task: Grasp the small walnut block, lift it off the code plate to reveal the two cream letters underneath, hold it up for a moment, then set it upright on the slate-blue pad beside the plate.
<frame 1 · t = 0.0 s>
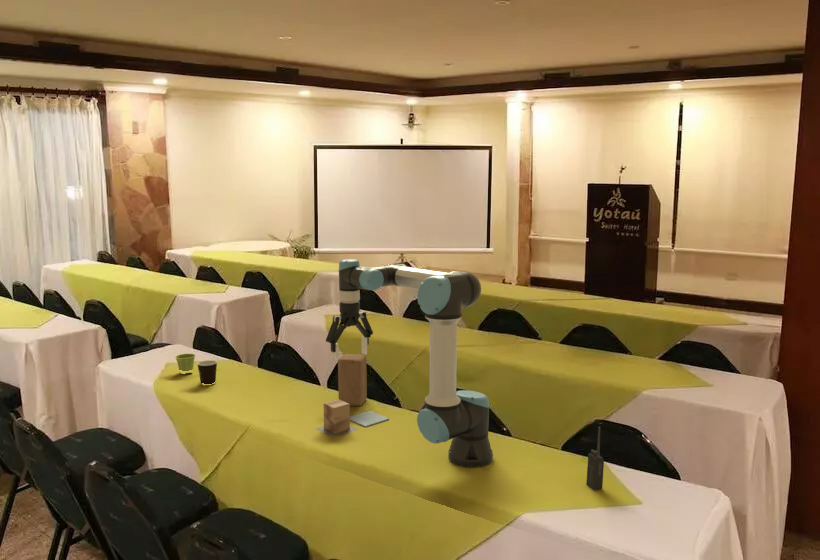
hand: (350, 357, 249), 28 cm above the table, fingers open, 13 cm apart
plant pot: (186, 373, 324), on the table
wooden block: (352, 402, 283), on the table
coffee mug: (209, 383, 309), on the table
walkie-talkie: (594, 487, 206), on the table
code plate: (336, 429, 253), on the table
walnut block: (336, 428, 253), resting on code plate
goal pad: (367, 419, 263), on the table
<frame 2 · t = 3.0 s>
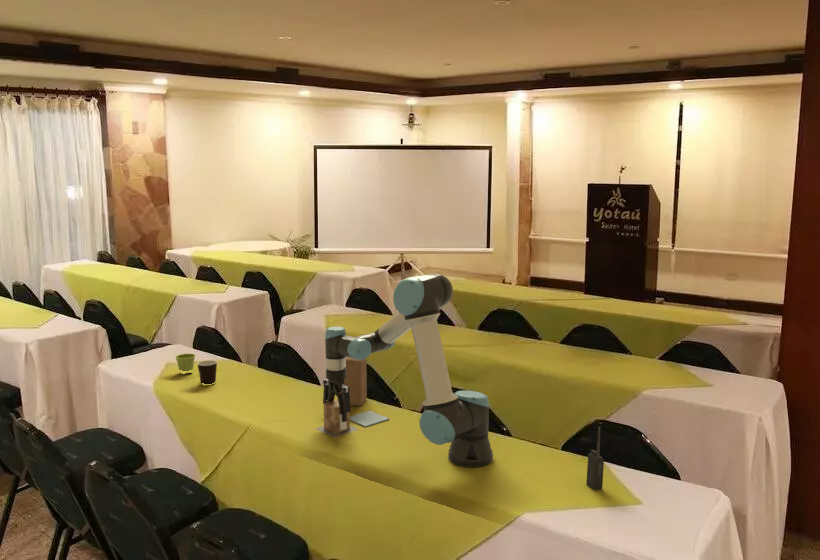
hand: (336, 426, 253), 1 cm above the table, fingers closed on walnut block, 7 cm apart
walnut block: (337, 428, 253), resting on code plate, touching gripper
everything else where it was.
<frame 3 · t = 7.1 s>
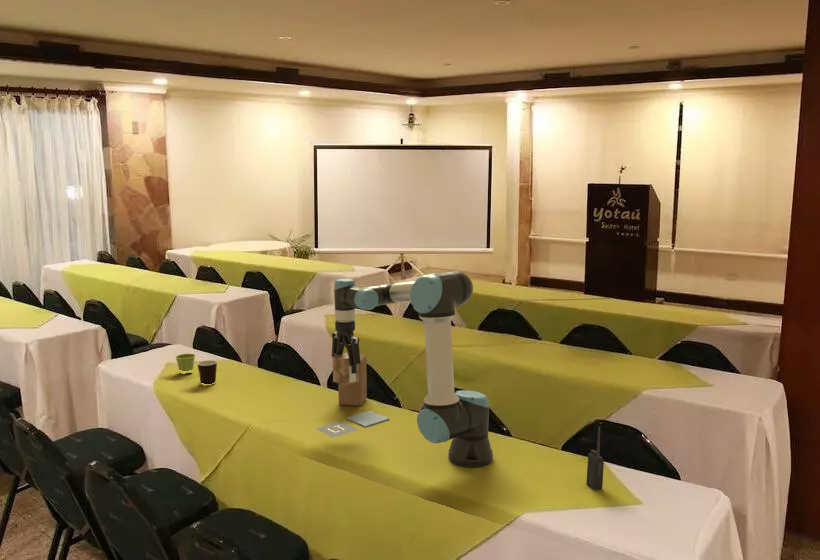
hand: (346, 379, 253), 19 cm above the table, fingers closed on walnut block, 7 cm apart
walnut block: (346, 381, 253), point 18 cm above the table, touching gripper
everything else where it was.
when the fingers open (3 cm above the table, at t = 11.2 s): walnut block drops 1 cm, resting on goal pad.
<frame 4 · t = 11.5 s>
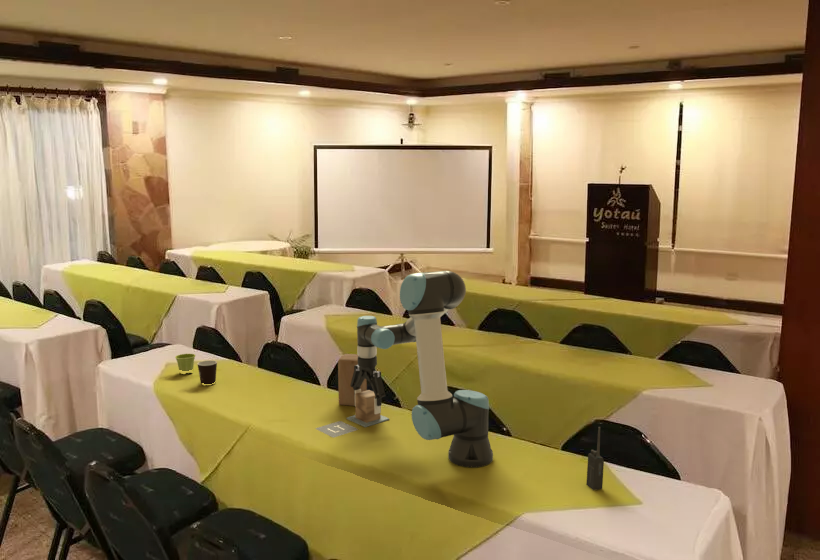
hand: (367, 409, 262), 4 cm above the table, fingers open, 11 cm apart
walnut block: (368, 418, 263), point 1 cm above the table, touching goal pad
everything else where it was.
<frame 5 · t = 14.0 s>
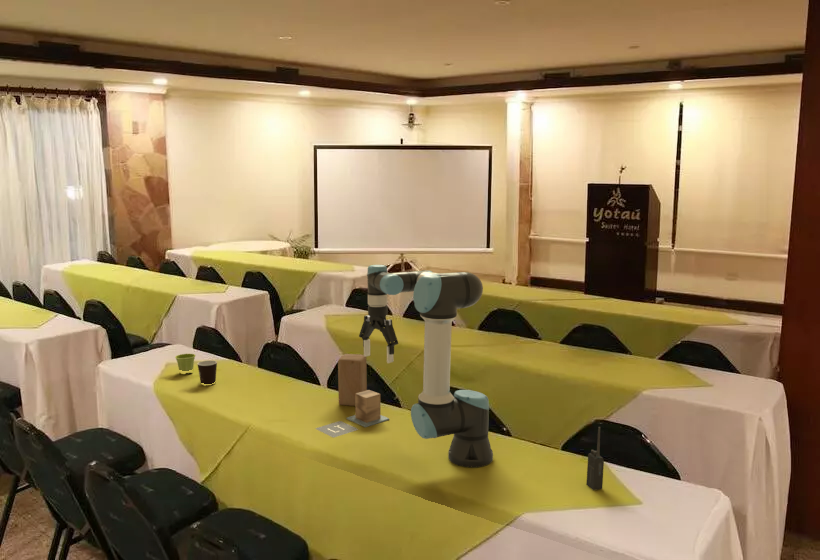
hand: (378, 359, 258), 25 cm above the table, fingers open, 13 cm apart
nothing on the table moved.
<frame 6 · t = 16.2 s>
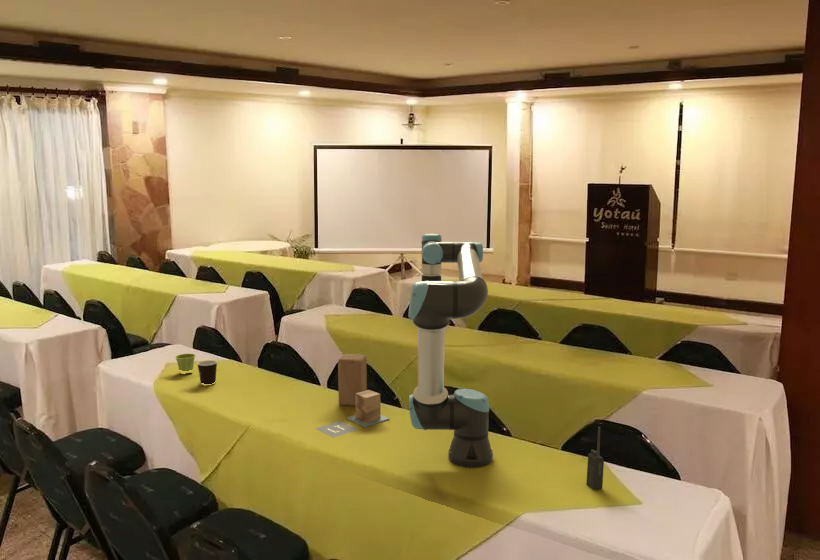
hand: (431, 329, 257), 37 cm above the table, fingers open, 13 cm apart
nothing on the table moved.
at the end: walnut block inside the target area on the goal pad (0.2 cm from its centre), point 0.6 cm above the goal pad's base; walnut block tilted 0°; the gripper is holding nothing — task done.
